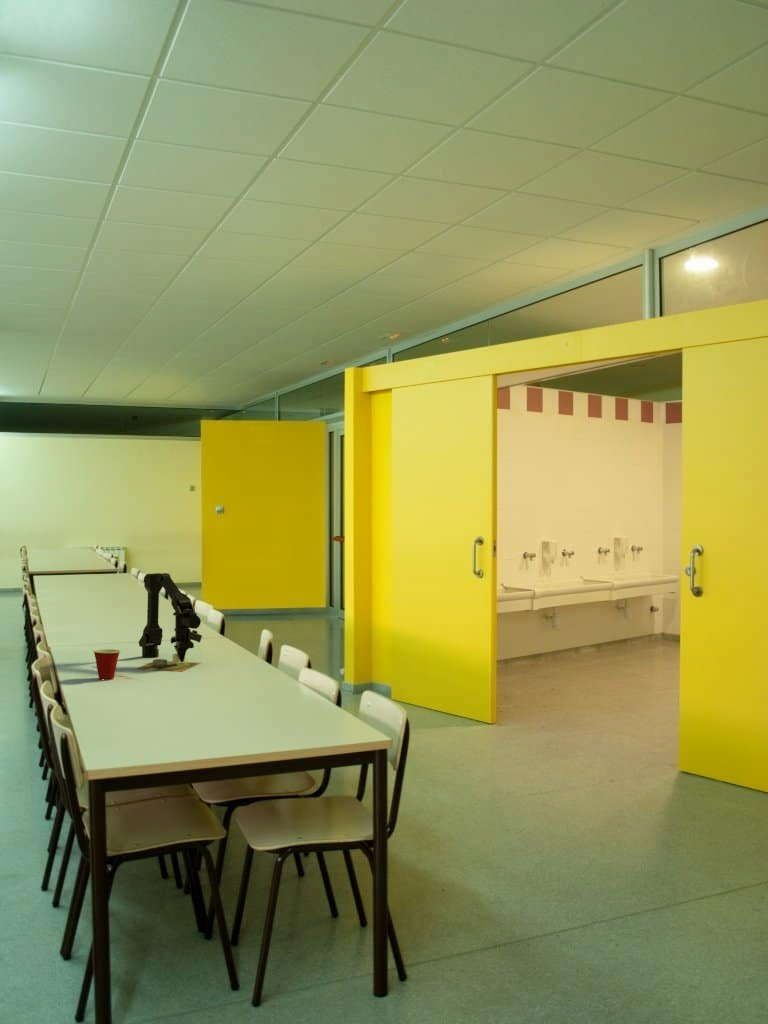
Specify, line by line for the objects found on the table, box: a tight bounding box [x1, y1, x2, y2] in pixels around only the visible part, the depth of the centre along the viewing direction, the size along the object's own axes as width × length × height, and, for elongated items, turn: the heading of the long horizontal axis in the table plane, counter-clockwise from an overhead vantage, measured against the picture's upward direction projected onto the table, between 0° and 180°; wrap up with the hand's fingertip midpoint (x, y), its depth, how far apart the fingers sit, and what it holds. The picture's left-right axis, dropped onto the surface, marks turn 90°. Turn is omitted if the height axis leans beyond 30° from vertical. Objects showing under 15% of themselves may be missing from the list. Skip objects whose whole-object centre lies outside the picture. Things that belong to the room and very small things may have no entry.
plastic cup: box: [93, 648, 122, 681], centre depth 353 cm, size 11×11×12 cm
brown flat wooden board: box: [135, 660, 202, 673], centre depth 374 cm, size 22×20×1 cm
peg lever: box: [152, 653, 186, 667], centre depth 376 cm, size 15×6×4 cm, turn 136°
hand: (182, 661), depth 377 cm, fingers closed
